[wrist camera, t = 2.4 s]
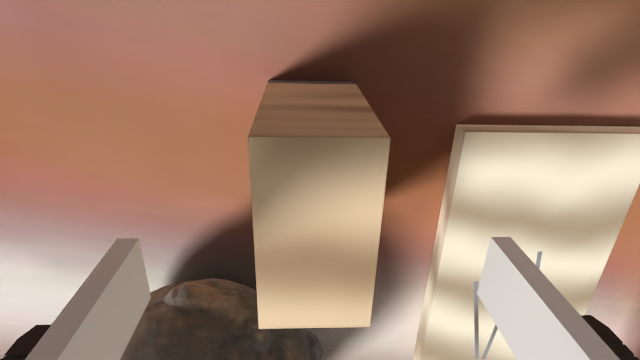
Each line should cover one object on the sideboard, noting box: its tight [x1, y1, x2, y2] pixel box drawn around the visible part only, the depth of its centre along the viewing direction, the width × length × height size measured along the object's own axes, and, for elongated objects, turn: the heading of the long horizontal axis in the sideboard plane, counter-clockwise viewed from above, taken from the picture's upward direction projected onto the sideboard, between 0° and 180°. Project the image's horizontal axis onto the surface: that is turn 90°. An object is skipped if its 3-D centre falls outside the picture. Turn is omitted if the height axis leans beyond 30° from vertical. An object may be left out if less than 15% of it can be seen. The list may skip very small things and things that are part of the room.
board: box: [413, 124, 640, 360], centre depth 29 cm, size 24×12×2 cm, turn 178°
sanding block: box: [248, 80, 391, 329], centre depth 20 cm, size 9×5×10 cm, turn 178°
